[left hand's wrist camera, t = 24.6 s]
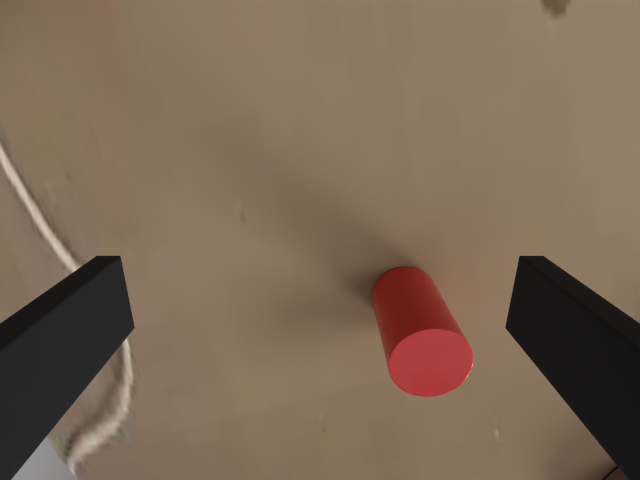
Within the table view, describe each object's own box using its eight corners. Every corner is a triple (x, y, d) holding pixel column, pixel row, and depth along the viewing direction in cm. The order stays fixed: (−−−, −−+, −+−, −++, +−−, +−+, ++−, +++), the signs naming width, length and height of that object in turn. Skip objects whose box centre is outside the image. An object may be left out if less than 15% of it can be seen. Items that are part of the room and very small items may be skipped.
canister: (438, 315, 34) (477, 389, 26) (377, 326, 35) (395, 403, 26) (431, 260, 32) (469, 321, 24) (366, 273, 33) (381, 337, 24)
